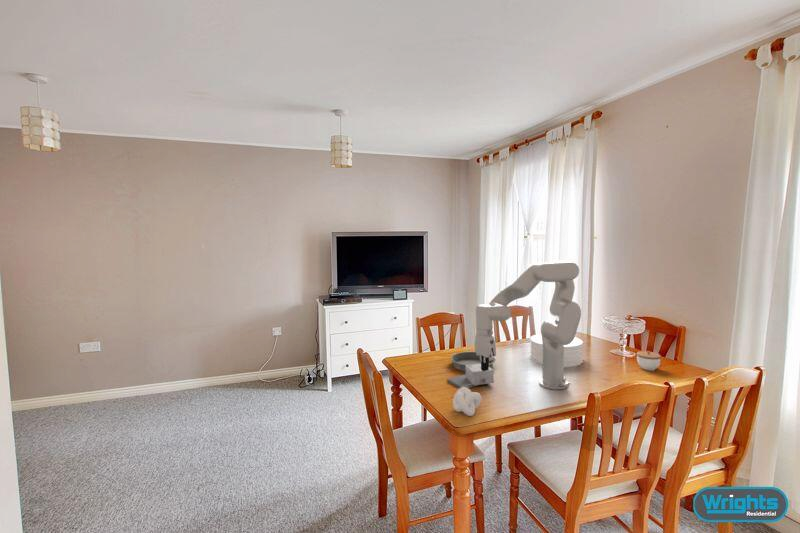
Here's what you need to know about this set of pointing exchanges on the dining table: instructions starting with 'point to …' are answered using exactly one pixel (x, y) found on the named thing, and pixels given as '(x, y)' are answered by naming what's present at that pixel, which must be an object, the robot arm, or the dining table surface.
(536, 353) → the plate stack
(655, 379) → the dining table surface
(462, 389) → the white decorative knot
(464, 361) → the cake pan
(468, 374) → the light bulb box
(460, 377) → the mat
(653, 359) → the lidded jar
